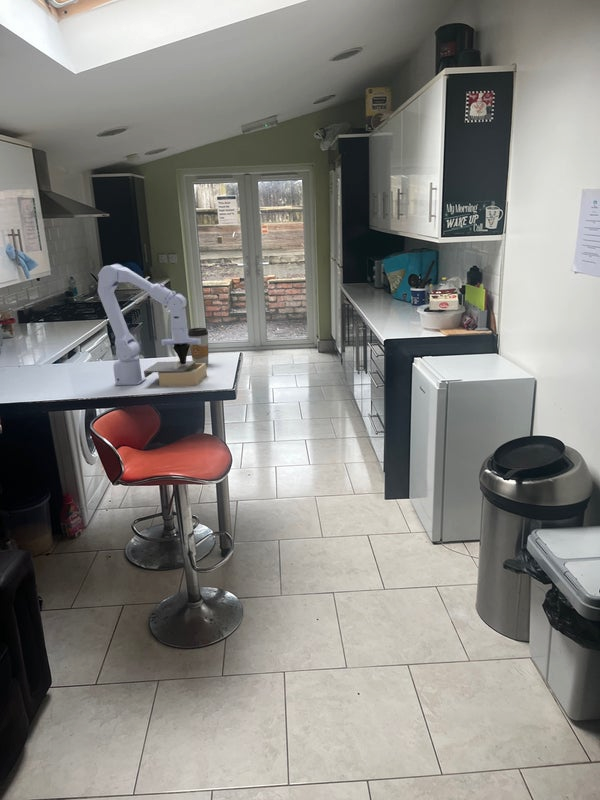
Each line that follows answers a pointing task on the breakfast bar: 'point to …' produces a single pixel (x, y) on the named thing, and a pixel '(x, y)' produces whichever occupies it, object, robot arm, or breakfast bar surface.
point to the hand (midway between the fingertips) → (183, 363)
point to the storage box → (184, 376)
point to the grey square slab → (168, 367)
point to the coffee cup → (201, 350)
